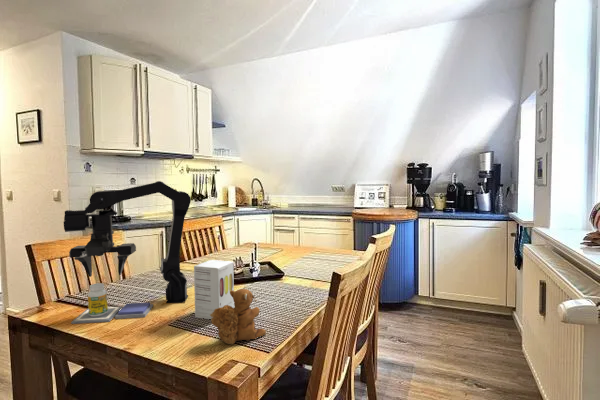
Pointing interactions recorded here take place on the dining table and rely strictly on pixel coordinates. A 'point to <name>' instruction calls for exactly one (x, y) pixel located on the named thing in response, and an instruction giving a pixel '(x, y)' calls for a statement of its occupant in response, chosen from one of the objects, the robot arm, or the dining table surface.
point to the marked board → (104, 318)
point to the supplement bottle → (97, 300)
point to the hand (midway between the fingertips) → (105, 275)
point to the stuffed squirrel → (237, 318)
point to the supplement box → (213, 287)
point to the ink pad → (134, 310)
